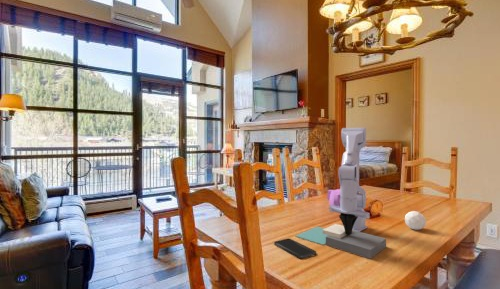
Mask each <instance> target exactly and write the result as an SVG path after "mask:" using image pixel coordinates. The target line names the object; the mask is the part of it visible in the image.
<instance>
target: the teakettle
mask: <svg viewBox="0 0 500 289" xmlns="http://www.w3.org/2000/svg"><path fill="white" fill-rule="evenodd" d="M357 193H360V192H357ZM326 199H327V201H328V206H339V207H340V188H337V189H328V190H327V197H326Z"/></svg>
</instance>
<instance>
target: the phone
mask: <svg viewBox="0 0 500 289" xmlns="http://www.w3.org/2000/svg"><path fill="white" fill-rule="evenodd" d="M273 242H274V243H273V244H274V246H276V247H277V248H279V249H281V250H282V251H285V252H286V253H288V254H289V255H291V256H293V257H295V258H296V259H299V260H304V259H307V258H310V257H314V256H317V251H316V250H314V249H312V248H310V247H308V246H306V245H304V244H303V243H300V242H298V241H296V240H294V239H292V238H290V237H289V238H285V239H284V238H282V239H279V240H276V241H273Z"/></svg>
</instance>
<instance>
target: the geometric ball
mask: <svg viewBox="0 0 500 289" xmlns="http://www.w3.org/2000/svg"><path fill="white" fill-rule="evenodd" d="M404 216H405V217H404V222H405V225H406V226H407V227H409V228H410V229H411V230H414V231H419V230H422V229H424V228H425V227H426V225H427V220H426V217H425V215H423V214H422V213H421V212H419V211H417V210H416V211H415V210H412V211H409V212H407V213H406V214H405V215H404Z"/></svg>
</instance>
